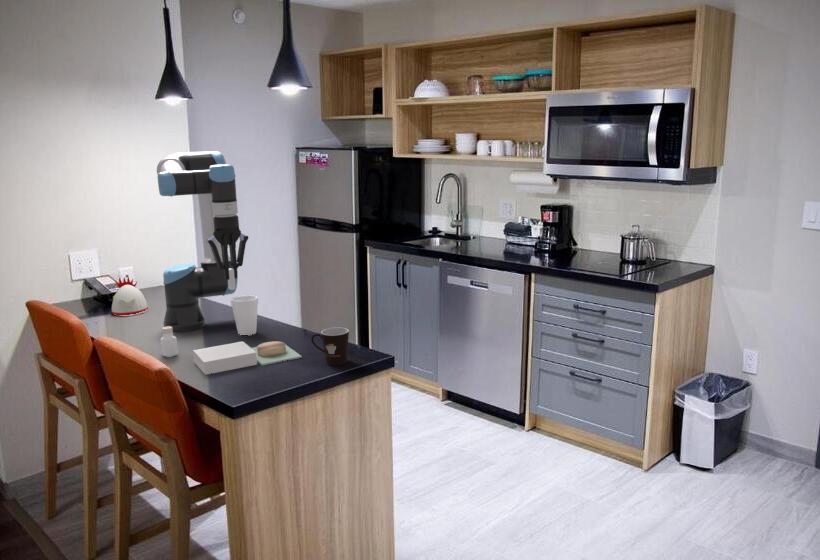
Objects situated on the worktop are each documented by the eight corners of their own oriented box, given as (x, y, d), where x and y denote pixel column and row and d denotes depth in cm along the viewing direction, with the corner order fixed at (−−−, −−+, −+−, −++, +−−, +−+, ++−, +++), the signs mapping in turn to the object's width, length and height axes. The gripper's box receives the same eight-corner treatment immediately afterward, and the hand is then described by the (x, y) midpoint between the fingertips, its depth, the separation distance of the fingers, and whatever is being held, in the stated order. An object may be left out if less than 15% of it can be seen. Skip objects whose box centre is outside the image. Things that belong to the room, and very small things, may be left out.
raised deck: (194, 362, 216) (193, 350, 215) (243, 352, 223) (242, 341, 223) (205, 374, 204) (204, 362, 203) (257, 364, 212) (256, 352, 211)
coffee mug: (356, 361, 212) (354, 330, 210) (335, 368, 206) (333, 337, 203) (331, 354, 219) (329, 324, 217) (310, 361, 213) (308, 330, 211)
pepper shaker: (172, 352, 226) (169, 325, 224) (178, 354, 224) (176, 327, 222) (161, 355, 223) (158, 328, 221) (168, 358, 221) (164, 330, 219)
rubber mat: (244, 350, 226) (244, 349, 225) (282, 343, 232) (282, 342, 232) (262, 365, 210) (262, 363, 210) (301, 357, 217) (301, 355, 217)
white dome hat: (114, 310, 286) (109, 275, 283) (149, 306, 290) (145, 272, 287) (110, 318, 273) (105, 281, 270) (147, 314, 277) (142, 278, 274)
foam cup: (231, 332, 248) (228, 297, 245) (256, 328, 252) (253, 294, 249) (237, 338, 240) (234, 302, 237) (263, 334, 244) (260, 299, 241)
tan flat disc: (254, 351, 222) (253, 344, 222) (280, 346, 227) (279, 339, 226) (262, 359, 215) (262, 351, 214) (289, 353, 219) (289, 346, 219)
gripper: (208, 218, 204) (214, 294, 210) (250, 214, 211) (255, 288, 216) (201, 215, 210) (208, 289, 216) (242, 212, 217) (247, 283, 222)
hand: (231, 288), depth 216 cm, fingers closed
